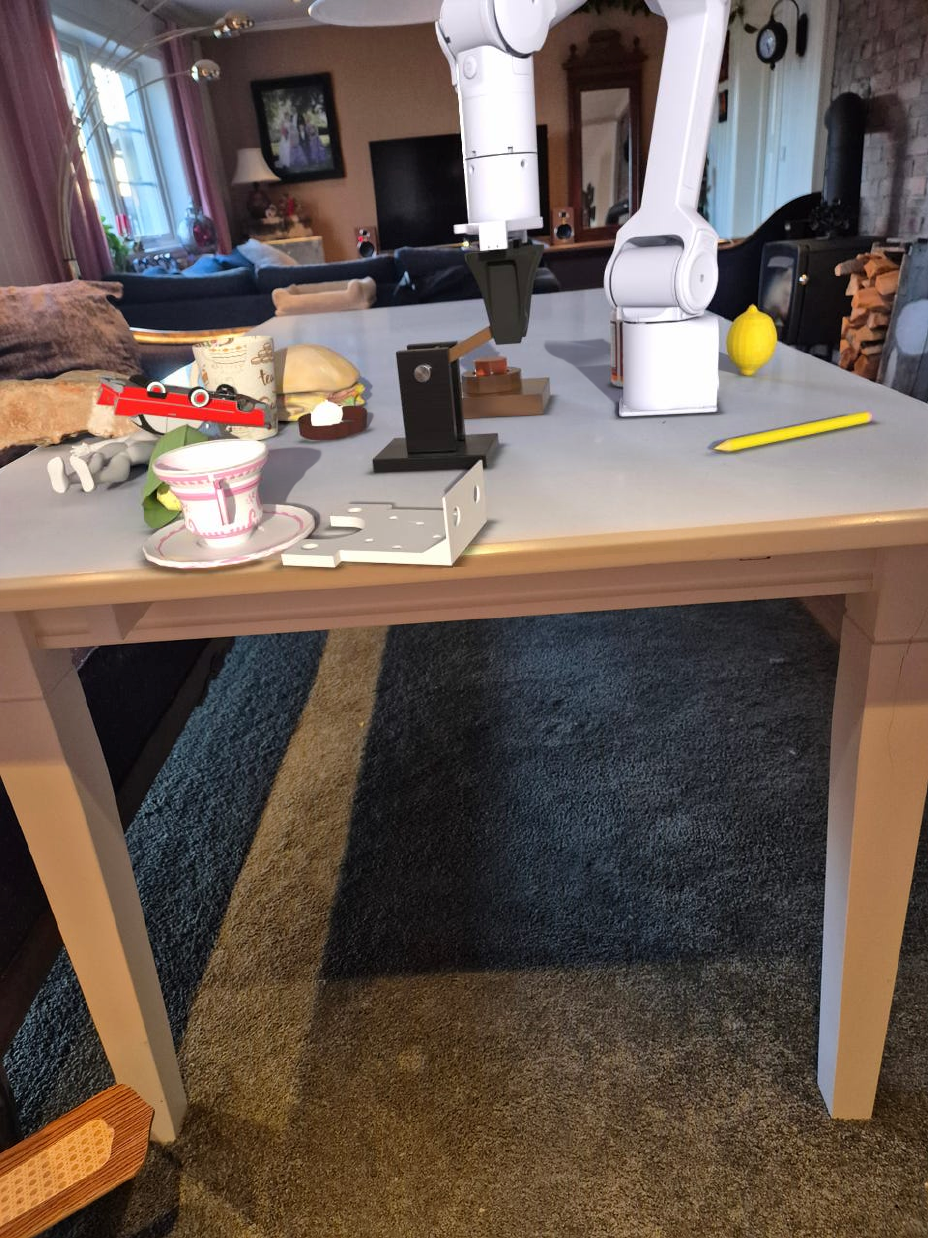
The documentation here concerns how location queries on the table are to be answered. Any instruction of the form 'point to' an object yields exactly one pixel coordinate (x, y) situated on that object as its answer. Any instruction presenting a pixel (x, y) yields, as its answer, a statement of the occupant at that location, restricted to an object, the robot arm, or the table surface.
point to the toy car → (176, 404)
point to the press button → (490, 365)
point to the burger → (313, 380)
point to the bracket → (401, 531)
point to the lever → (475, 342)
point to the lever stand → (433, 416)
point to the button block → (503, 394)
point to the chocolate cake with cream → (332, 421)
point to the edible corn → (156, 492)
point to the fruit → (751, 340)
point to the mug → (240, 378)
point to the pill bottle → (616, 349)
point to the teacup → (221, 508)
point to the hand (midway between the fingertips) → (511, 340)
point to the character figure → (105, 460)
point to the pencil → (794, 431)
